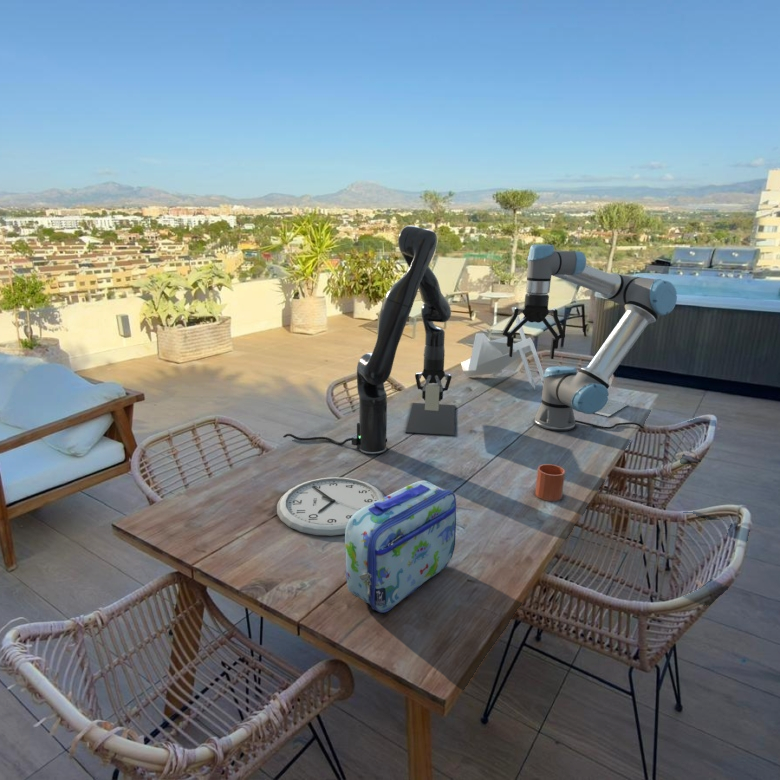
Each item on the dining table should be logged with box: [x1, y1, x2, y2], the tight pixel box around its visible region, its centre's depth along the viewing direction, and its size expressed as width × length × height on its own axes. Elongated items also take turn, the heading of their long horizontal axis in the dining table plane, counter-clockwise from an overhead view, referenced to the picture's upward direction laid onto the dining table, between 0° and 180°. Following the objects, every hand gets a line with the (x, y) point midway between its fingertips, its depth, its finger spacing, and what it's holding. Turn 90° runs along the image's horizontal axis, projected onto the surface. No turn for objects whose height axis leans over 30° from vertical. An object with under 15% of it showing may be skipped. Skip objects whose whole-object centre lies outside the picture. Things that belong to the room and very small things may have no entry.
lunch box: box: [344, 480, 457, 614], centre depth 109 cm, size 26×11×21 cm, turn 135°
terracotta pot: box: [534, 463, 566, 502], centre depth 149 cm, size 7×7×8 cm
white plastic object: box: [460, 306, 545, 390], centre depth 260 cm, size 37×45×31 cm
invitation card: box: [594, 399, 628, 418], centre depth 226 cm, size 21×1×15 cm
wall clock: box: [276, 476, 386, 537], centre depth 143 cm, size 30×2×30 cm
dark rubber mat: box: [405, 402, 456, 437], centre depth 209 cm, size 18×34×1 cm, turn 173°
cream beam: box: [424, 383, 440, 411], centre depth 205 cm, size 5×26×9 cm, turn 173°
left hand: (432, 400), depth 198 cm, fingers closed on cream beam, 5 cm apart
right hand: (530, 357), depth 176 cm, fingers open, 13 cm apart
